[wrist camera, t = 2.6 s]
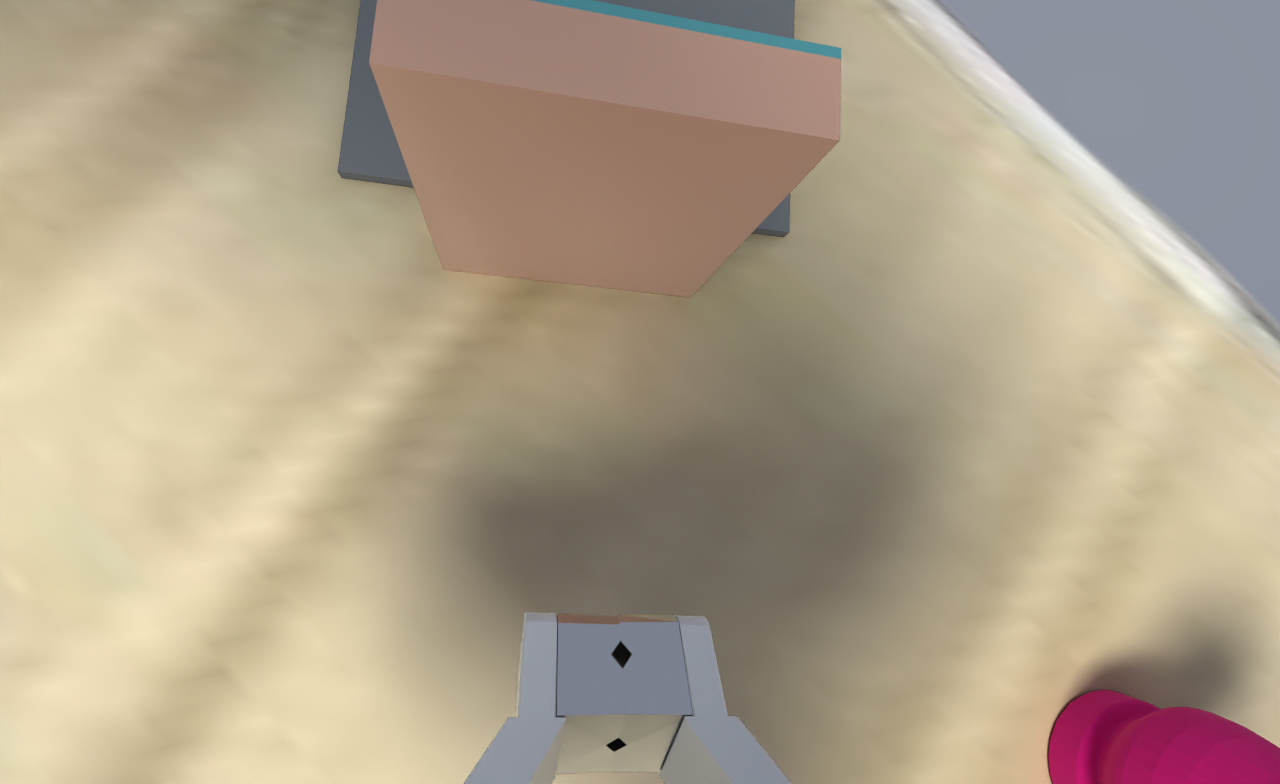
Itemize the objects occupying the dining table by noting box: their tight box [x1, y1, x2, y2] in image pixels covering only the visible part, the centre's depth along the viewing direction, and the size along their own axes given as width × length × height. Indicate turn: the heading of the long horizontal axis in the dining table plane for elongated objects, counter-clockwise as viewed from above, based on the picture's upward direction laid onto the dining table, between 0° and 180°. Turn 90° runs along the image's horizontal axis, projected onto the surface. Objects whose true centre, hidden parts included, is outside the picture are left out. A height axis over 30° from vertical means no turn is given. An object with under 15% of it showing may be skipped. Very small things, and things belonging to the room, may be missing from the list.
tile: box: [369, 0, 841, 297], centre depth 22 cm, size 2×11×14 cm, turn 86°
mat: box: [338, 0, 795, 237], centre depth 30 cm, size 16×20×1 cm
